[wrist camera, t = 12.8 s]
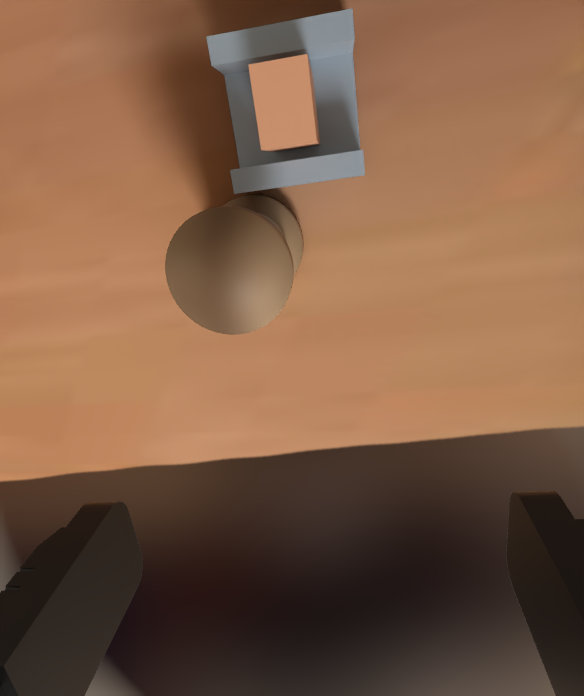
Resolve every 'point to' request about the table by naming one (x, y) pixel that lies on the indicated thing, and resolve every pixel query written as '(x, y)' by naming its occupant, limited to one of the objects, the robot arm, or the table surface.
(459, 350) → the table surface
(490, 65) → the table surface
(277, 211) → the bobbin
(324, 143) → the grey channel bracket
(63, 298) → the table surface
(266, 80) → the tan rectangular block
